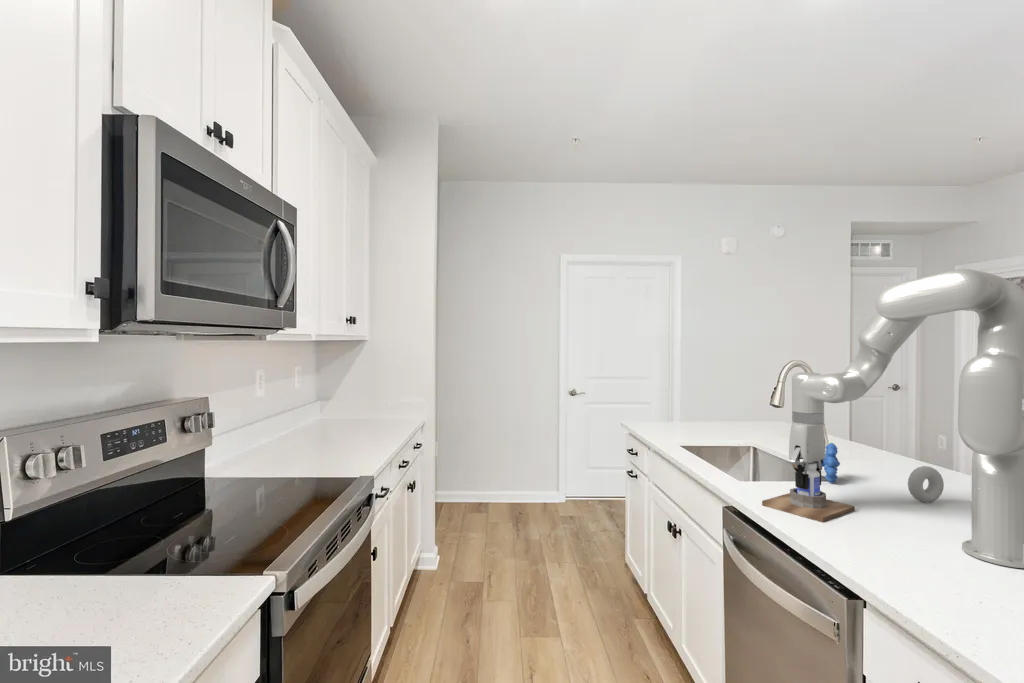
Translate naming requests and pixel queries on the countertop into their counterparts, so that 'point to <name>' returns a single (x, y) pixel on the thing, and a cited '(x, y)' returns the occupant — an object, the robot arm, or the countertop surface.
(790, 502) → the base
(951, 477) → the countertop surface
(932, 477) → the donut
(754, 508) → the countertop surface
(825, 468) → the grapes
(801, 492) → the pill bottle
